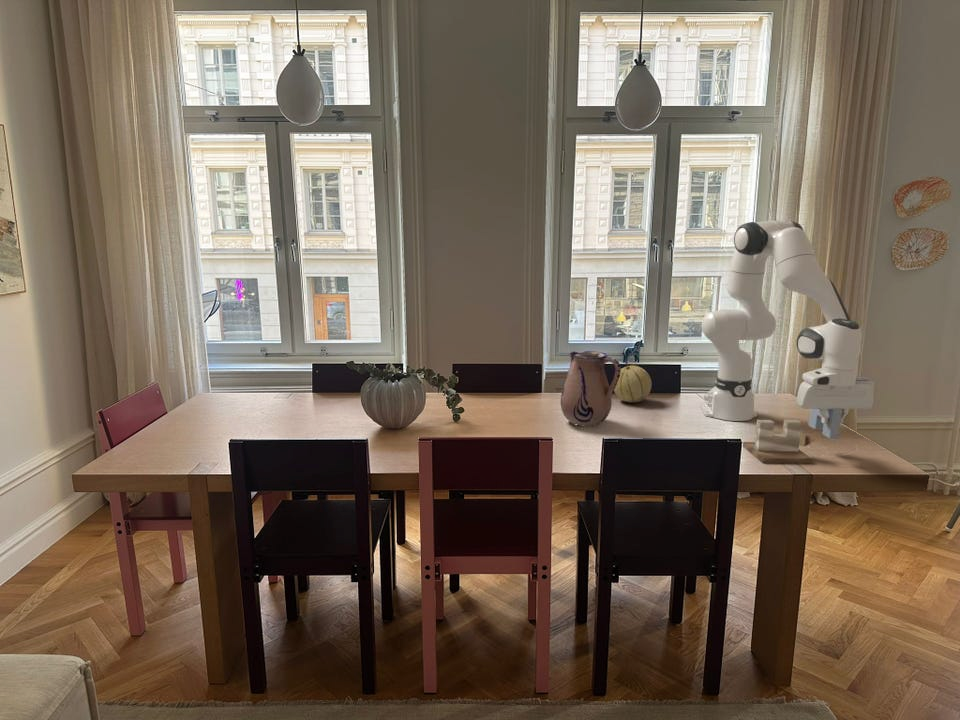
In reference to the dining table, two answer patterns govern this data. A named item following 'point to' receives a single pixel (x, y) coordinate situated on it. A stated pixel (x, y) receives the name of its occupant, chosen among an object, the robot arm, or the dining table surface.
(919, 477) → the dining table surface
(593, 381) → the ceramic pitcher
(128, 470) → the dining table surface
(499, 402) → the dining table surface
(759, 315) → the robot arm
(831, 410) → the slotted plate
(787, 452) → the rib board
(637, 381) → the cantaloupe
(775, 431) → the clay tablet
